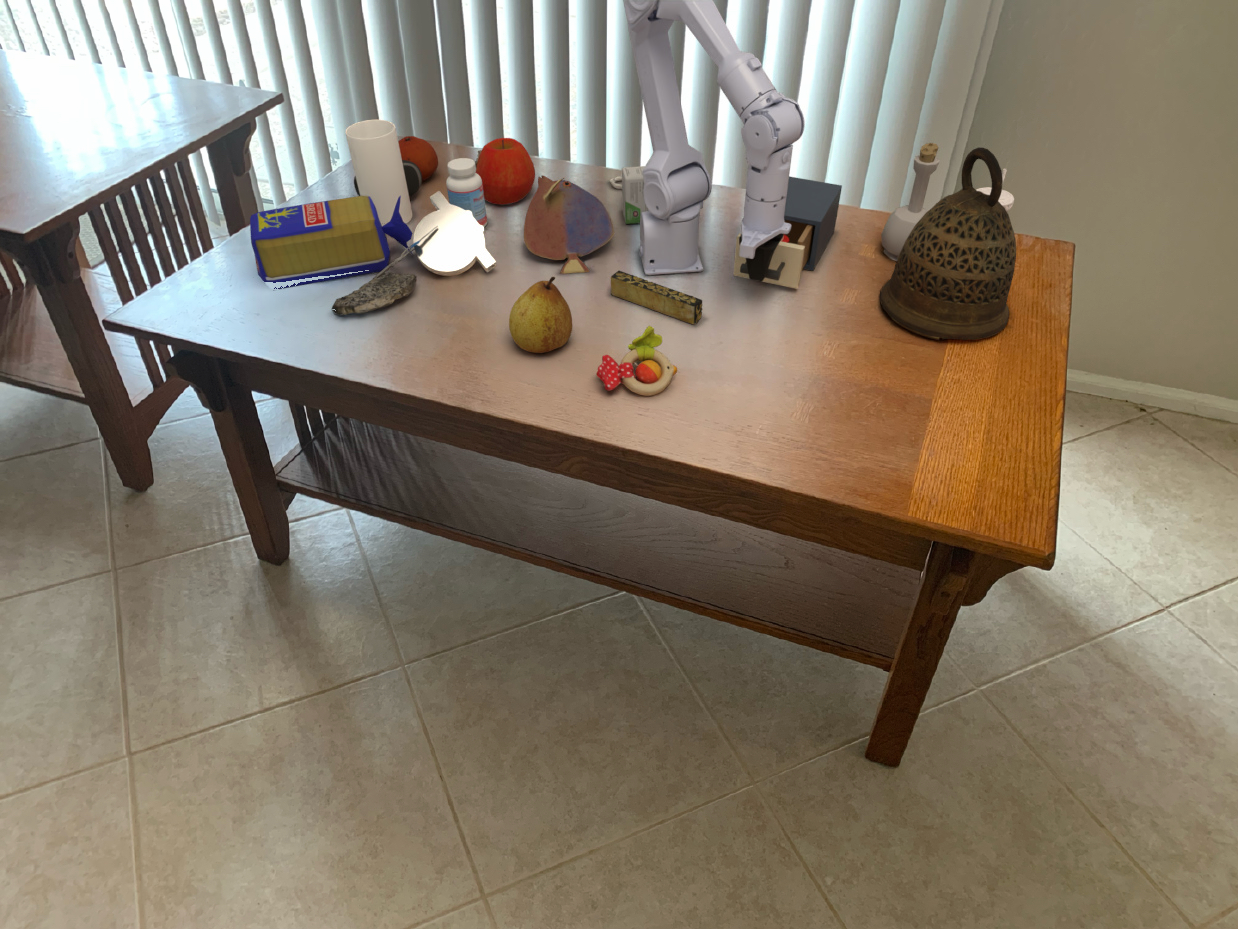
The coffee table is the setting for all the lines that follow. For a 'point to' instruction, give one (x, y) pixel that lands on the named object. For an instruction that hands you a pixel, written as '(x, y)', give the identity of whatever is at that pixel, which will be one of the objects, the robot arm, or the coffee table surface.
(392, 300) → the stone
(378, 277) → the scissors
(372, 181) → the cup
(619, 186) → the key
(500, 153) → the apple
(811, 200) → the cabinet
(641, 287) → the decorative block
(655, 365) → the bird rattle
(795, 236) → the drawer
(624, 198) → the ink box
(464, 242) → the tabbed white plastic disc
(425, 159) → the fruit
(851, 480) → the coffee table surface
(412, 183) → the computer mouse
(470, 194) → the pill bottle
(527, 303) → the fruit
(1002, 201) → the smoothie
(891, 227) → the potion bottle
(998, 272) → the bell
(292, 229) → the bread
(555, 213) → the fish
